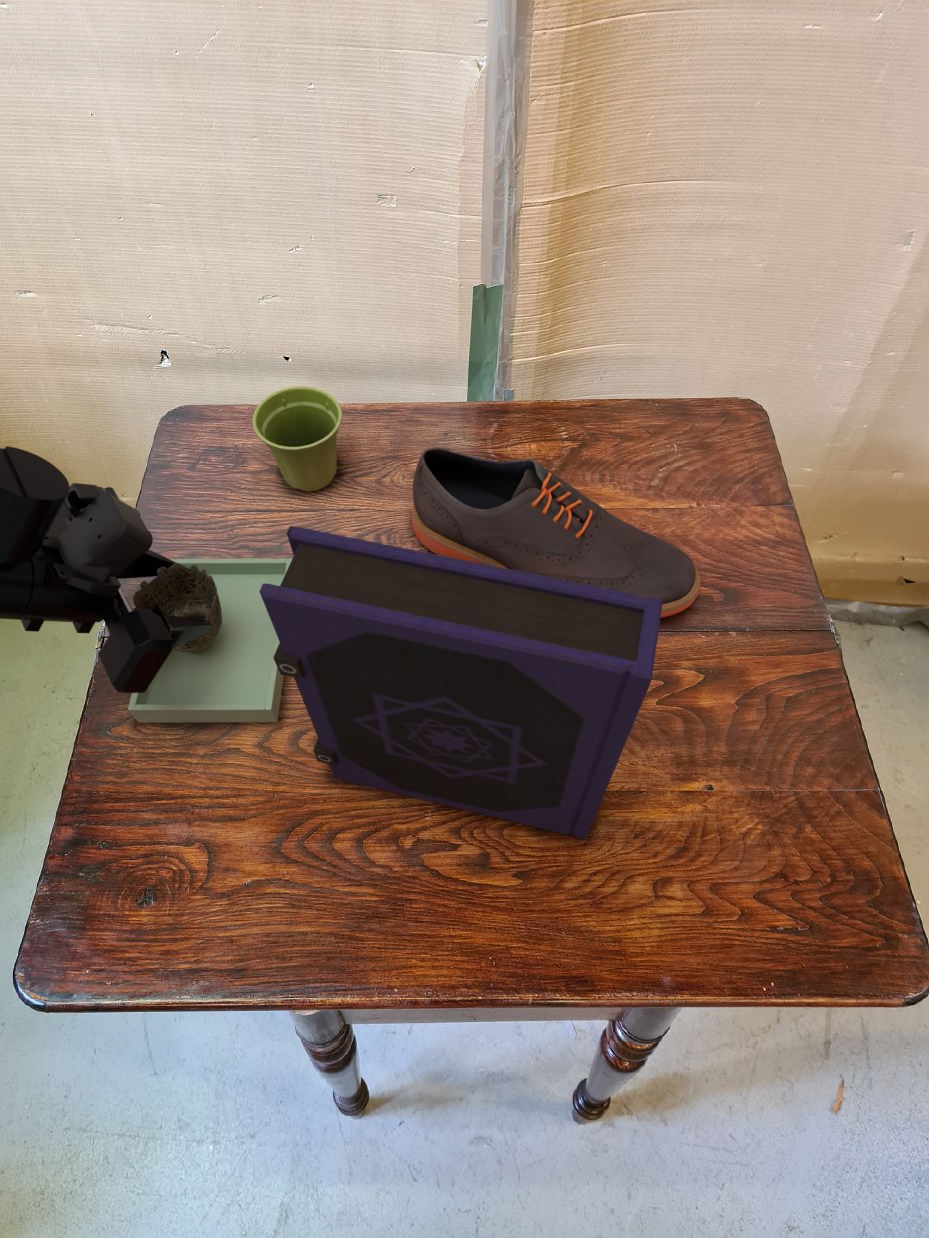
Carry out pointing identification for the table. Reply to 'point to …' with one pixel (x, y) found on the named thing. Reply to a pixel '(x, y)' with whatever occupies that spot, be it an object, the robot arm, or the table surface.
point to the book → (462, 676)
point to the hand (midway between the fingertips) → (192, 597)
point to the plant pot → (301, 434)
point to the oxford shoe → (541, 528)
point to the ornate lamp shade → (184, 600)
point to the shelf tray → (223, 655)
